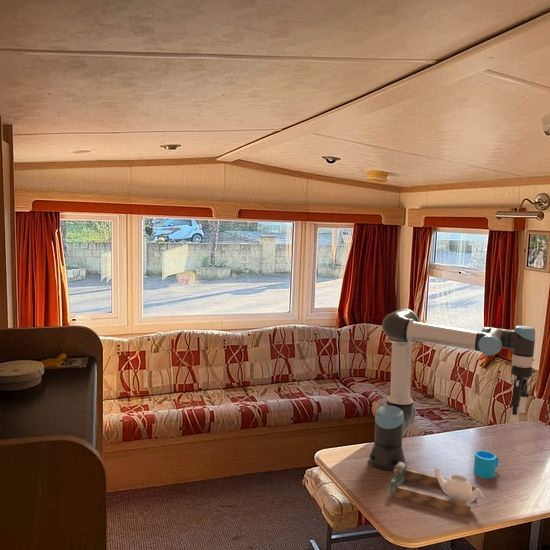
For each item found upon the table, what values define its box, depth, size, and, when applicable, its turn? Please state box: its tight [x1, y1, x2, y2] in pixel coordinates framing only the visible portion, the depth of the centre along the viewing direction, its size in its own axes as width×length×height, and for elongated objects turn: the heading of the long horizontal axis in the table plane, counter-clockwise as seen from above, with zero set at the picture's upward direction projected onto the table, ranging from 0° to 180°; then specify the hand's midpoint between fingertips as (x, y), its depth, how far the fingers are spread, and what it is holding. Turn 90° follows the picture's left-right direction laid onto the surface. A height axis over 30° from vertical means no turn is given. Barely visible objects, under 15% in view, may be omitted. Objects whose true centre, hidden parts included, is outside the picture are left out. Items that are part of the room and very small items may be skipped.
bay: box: [390, 462, 478, 518], centre depth 203 cm, size 29×17×9 cm, turn 62°
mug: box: [473, 450, 499, 479], centre depth 223 cm, size 12×8×8 cm
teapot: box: [434, 468, 485, 504], centre depth 199 cm, size 10×20×9 cm, turn 42°
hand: (517, 417), depth 214 cm, fingers open, 13 cm apart
